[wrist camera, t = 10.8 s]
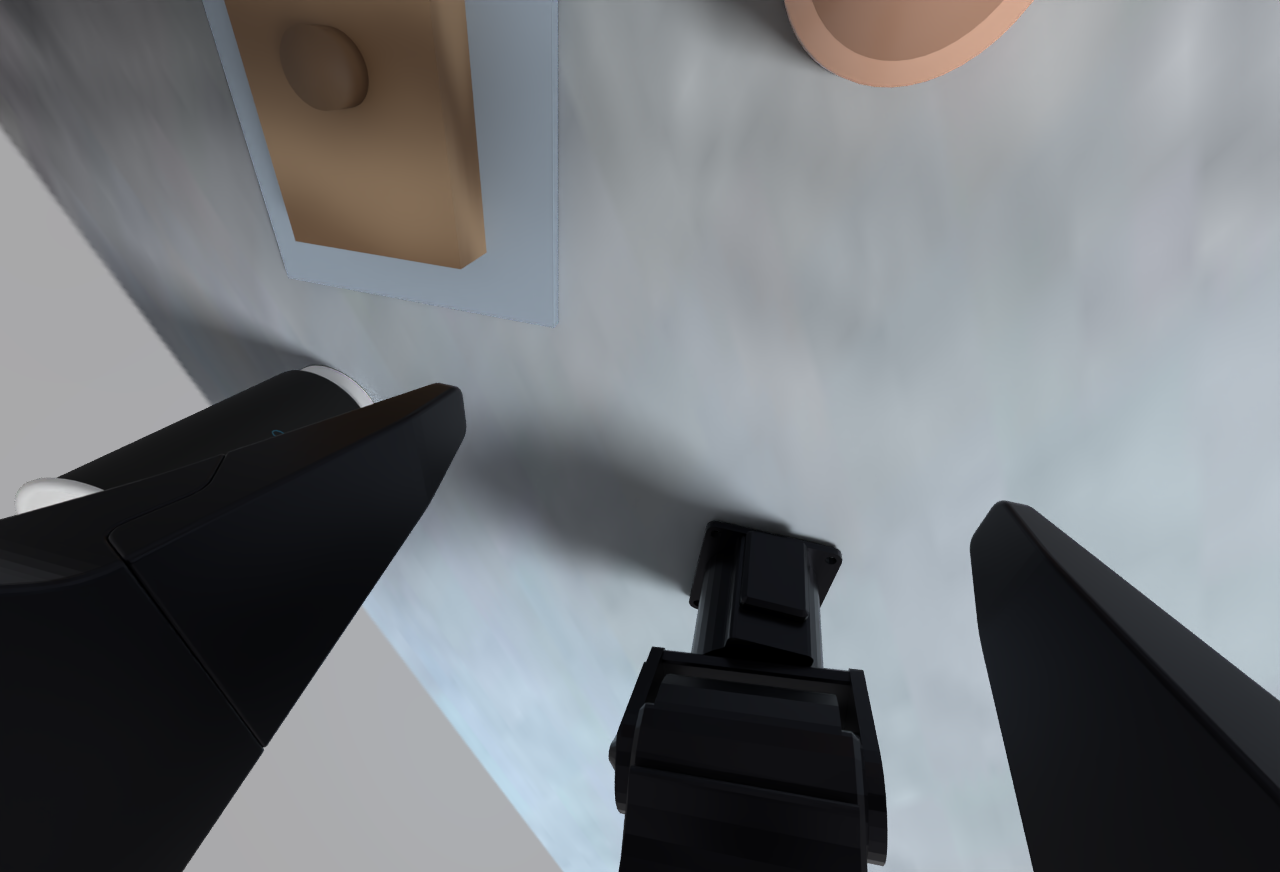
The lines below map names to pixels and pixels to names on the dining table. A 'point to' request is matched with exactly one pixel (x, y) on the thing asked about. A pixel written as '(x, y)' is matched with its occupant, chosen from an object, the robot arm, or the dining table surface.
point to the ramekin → (898, 35)
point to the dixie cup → (208, 434)
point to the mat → (508, 162)
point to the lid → (369, 122)
